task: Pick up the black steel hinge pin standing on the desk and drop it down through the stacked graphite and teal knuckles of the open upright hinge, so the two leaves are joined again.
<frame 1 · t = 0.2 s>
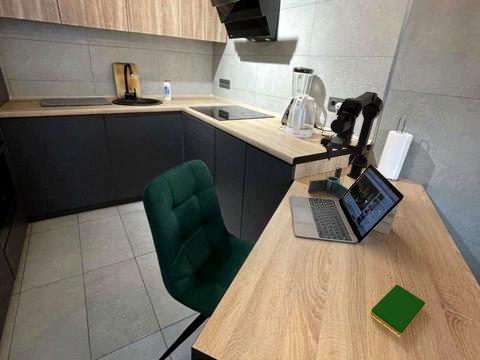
hand: (338, 163, 118), 14 cm above the worktop, tool pointing down, fingers open, 9 cm apart
hinge pin: (335, 183, 132), on the worktop
light bulb box: (373, 226, 99), on the worktop
hinge: (330, 190, 124), on the worktop
dish sponge: (395, 312, 65), on the worktop
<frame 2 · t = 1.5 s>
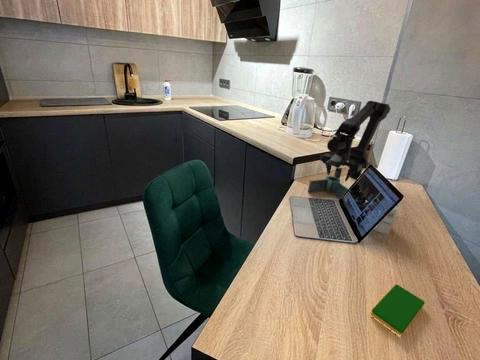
hand: (336, 178, 131), 3 cm above the worktop, tool pointing down, fingers open, 9 cm apart
nothing on the worktop moved.
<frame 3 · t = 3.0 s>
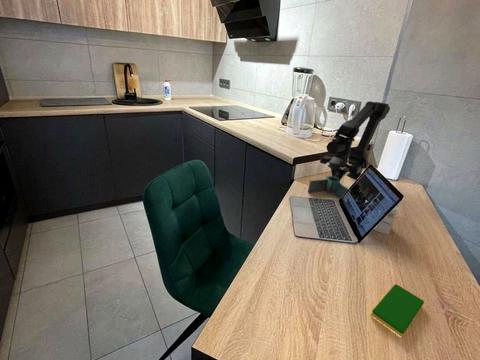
hand: (336, 180, 131), 2 cm above the worktop, tool pointing down, fingers closed on hinge pin, 3 cm apart
hinge pin: (335, 183, 132), on the worktop, touching gripper
everything else where it was.
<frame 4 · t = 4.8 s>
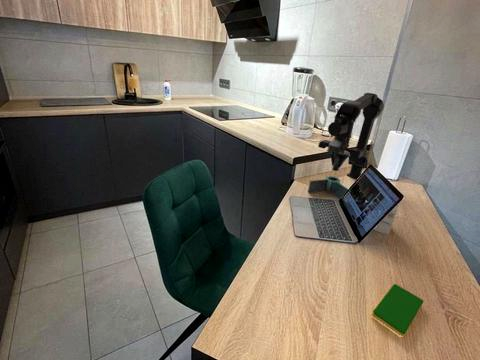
hand: (336, 166, 120), 12 cm above the worktop, tool pointing down, fingers closed on hinge pin, 3 cm apart
hinge pin: (335, 169, 120), point 10 cm above the worktop, touching gripper
everything else where it was.
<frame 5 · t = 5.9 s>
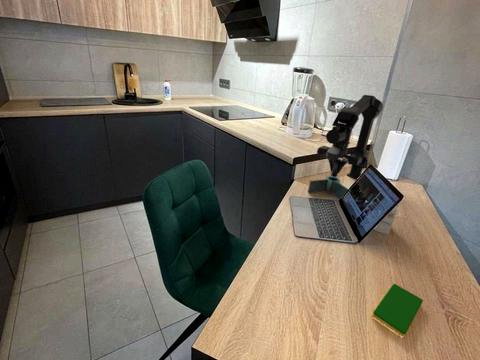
hand: (334, 172, 120), 9 cm above the worktop, tool pointing down, fingers closed on hinge pin, 3 cm apart
hinge pin: (333, 175, 121), point 8 cm above the worktop, touching gripper
everything else where it was.
when the fingers open (7 cm above the worktop, at t = 6.9 s): hinge pin drops 6 cm, resting in hinge.
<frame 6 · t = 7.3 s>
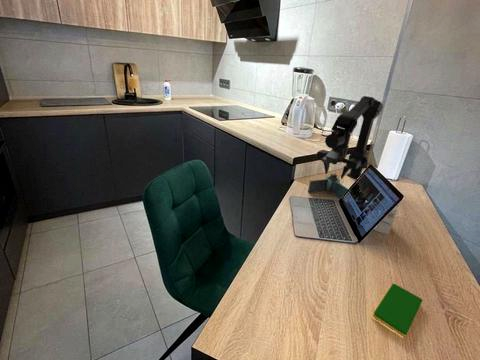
hand: (333, 176, 121), 7 cm above the worktop, tool pointing down, fingers open, 7 cm apart
hinge pin: (330, 190, 124), resting in hinge
everything else where it was.
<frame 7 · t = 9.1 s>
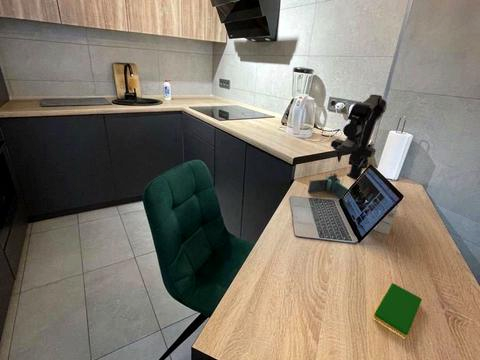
hand: (348, 164, 123), 12 cm above the worktop, tool pointing down, fingers open, 9 cm apart
nothing on the worktop moved.
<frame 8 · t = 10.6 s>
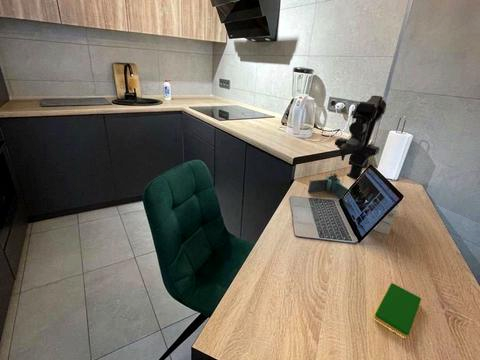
hand: (351, 163, 124), 12 cm above the worktop, tool pointing down, fingers open, 9 cm apart
nothing on the worktop moved.
at the end: hinge pin 0.0 cm off-centre on the hinge, point 0.0 cm above the hinge's base; hinge pin tilted 0°; the gripper is holding nothing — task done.
